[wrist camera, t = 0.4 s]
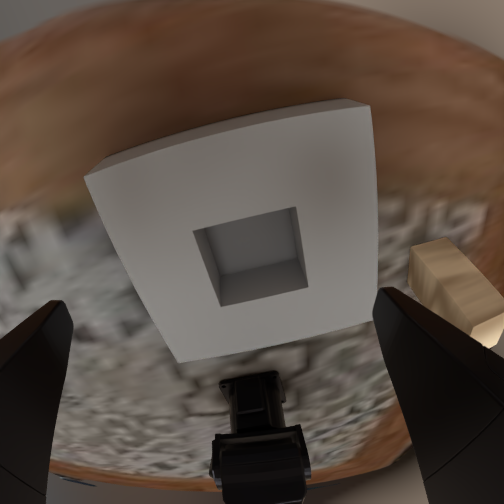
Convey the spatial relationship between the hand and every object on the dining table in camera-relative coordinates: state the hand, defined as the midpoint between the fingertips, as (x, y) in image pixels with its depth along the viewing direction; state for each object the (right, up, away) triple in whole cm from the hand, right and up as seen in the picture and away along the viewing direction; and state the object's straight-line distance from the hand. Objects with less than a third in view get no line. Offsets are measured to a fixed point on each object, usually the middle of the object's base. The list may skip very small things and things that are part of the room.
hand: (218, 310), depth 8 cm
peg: (+17, +1, +18) cm, 24 cm away
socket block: (+1, +3, +15) cm, 15 cm away
